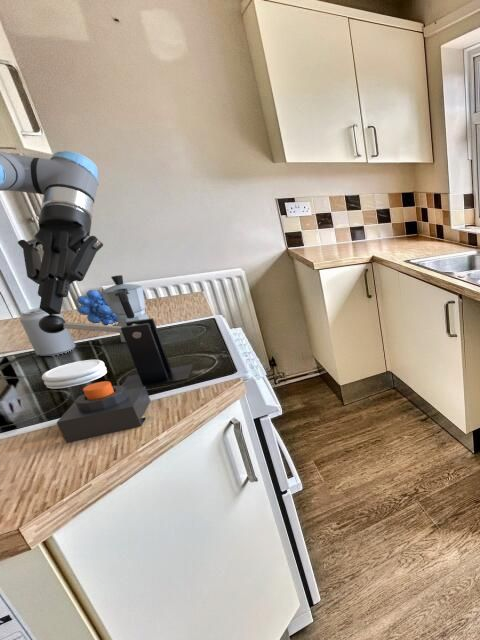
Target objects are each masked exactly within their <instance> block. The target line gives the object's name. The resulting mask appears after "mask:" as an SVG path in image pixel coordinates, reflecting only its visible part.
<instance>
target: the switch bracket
mask: <svg viewBox="0 0 480 640" xmlns="http://www.w3.org/2000/svg"><path fill="white" fill-rule="evenodd" d="M126 324H127V326H125V327H121V331H122V333H123V336H124V338H125V341H126V342H125V344H126V346H127V348H128V351H129V353H130V357H131V359H132V362H133V364H134V366H135V370H136V373H137V374H133V375H128V376H127V377H126V378H125V380H124V381H123V383H122V384H121V386H123V387H124V388H125V389H126V390H129V389H134V388H139V387H146V389H147V388H152V387H156V386H161V385H166V384H167V385H168V384H172V383H176V382H182V381H187V380H189V378H190V376H191V373H192V371H193V368H194V366H195V365H194V364H193V363H192V364H187V365H181V366H176V367H171V365H170V362H169V358H168V355H167V353H166V350H165V347H164V345H163V342H162V339H161V336H160V333H159V331H158V328H157V325H156V323H155V319H154V318H153V317H151V318H149V319H143V320H136V321H129V322H127V323H126ZM132 324H139V325H132ZM131 325H132V326H131Z"/></svg>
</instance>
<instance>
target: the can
mask: <svg viewBox="0 0 480 640" xmlns="http://www.w3.org/2000/svg"><path fill="white" fill-rule="evenodd" d="M20 315H21V316H20V317H19V321H20V323H21V326H22V328H23V330H24V332H25V334H26V336H27V338H28V340H29V341H30V345H31V346H32V348H33V350H34V353H35V355H37V356H41V357H42V356H52V357H56V356H55V355H57V356H60V355H59V354H62V355H64V354H63V353H65V354H68V353H70V352H72V351H74V349H75V348H76V347H77V345H76V343H75V341H74V338H73V336H72V334H71V331H70V329H67V328H65V329H64V330H63V331H61V332H59V333H54V334H52V333H46V332H44V331H42V330H41V329H40V327H39V321H40V319H41V318H43V317H44V316H47V315H49V314H48V313H46V312H45V311H43V310H41V309H40V308H39V307H36V308H31V309H27V310H23V311H21V312H20ZM55 315H56V316H59V317H61V318H63V319H64V320H65V318H64V315H63V313H62V312H61V313H60V314H55ZM71 350H72V351H71ZM69 351H70V352H69ZM67 352H68V353H67Z"/></svg>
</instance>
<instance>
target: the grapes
mask: <svg viewBox="0 0 480 640" xmlns="http://www.w3.org/2000/svg"><path fill="white" fill-rule="evenodd" d="M76 300H77V301H76V302H77V303H78V304H80V305H79V306H77V309H76V310H77V312H78V314H81V315H83V316H87V318H86V319H87V321H88V322H90V323H91V324H100V323H101V325H108V324H113V323H115V324H116V323H117V322H118V321H117V316H116V314H114V313H112V311H111V309H110V308H109V306H108V304H107V303H106V301H105V299H104V297H103V296H102V294H101V292H100V291H98V290H96V289H88V291H86V295H80V296H78V297H77V298H76Z"/></svg>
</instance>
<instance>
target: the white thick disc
mask: <svg viewBox="0 0 480 640" xmlns="http://www.w3.org/2000/svg"><path fill="white" fill-rule="evenodd" d="M105 364H106V363H105V362H104V361H103V360H101V359H87V360H86V359H85V360H78V361H73V362H69V363H65V364H62V365H59V366H56V367H53V368H51V369H50V370H47V371H45V372H44V373H43V374H42V375H41V379H42V381H43V384H44V385H45V386H46V388H48V389H54V390H55V389H65V388H71V387H76V386H79V385H80V386H81V385H83V384H87V383H90V382H92V381H95V380H97V379H100V378H102V377H103V376H105V375H106V374H107V373H108V370H107V367H106V365H105Z"/></svg>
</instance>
